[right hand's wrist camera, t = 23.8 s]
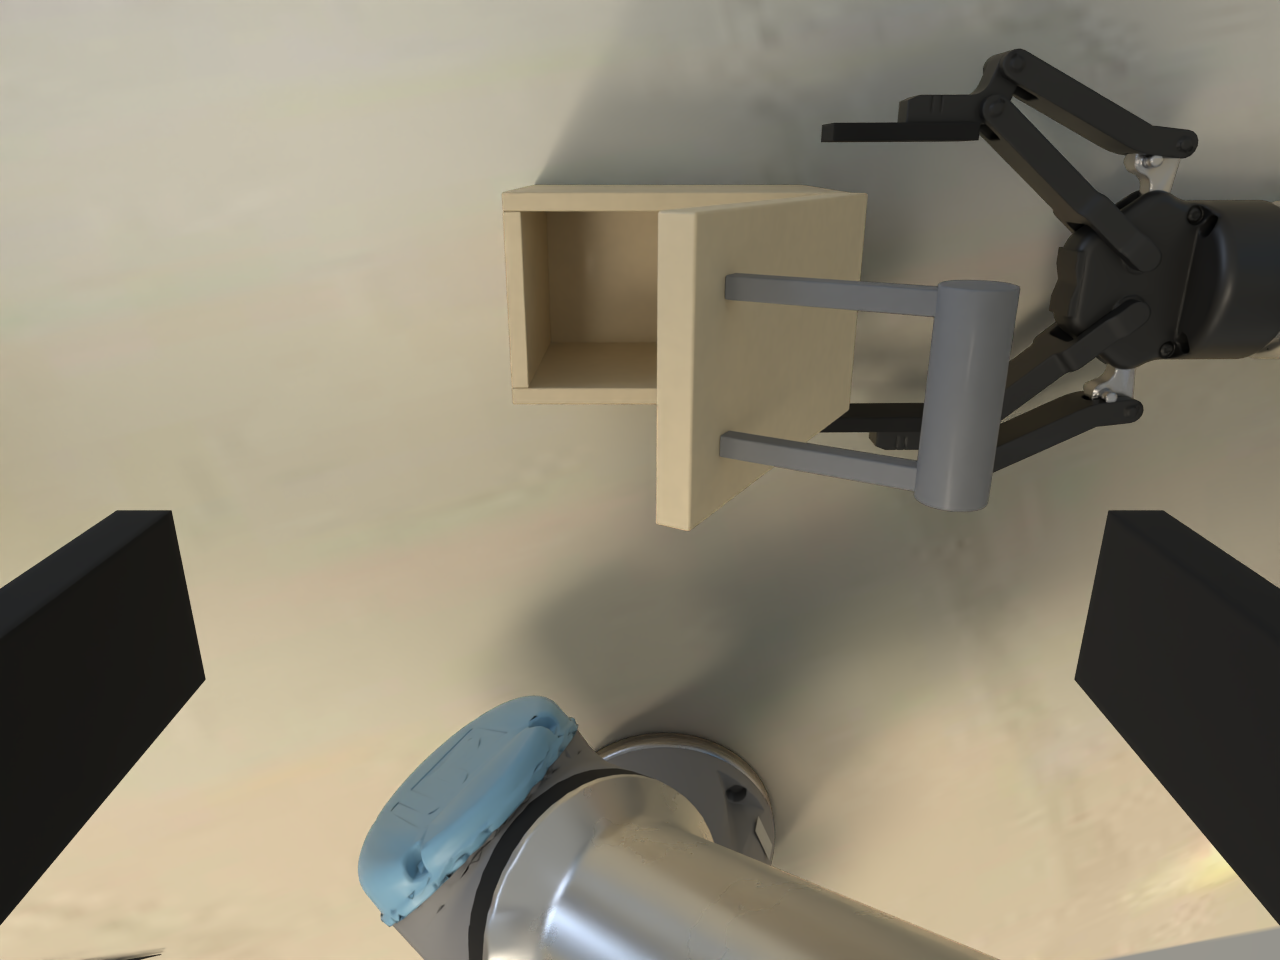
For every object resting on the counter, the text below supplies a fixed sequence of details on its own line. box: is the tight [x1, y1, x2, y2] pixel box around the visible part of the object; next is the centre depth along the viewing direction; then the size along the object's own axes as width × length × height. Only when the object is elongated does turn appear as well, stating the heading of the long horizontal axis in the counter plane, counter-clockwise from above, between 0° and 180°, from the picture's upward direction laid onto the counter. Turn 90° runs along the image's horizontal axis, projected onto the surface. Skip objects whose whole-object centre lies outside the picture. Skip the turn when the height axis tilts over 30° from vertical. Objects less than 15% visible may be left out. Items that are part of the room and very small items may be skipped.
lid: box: [656, 193, 1020, 531], centre depth 29 cm, size 16×9×9 cm
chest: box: [502, 185, 849, 404], centre depth 43 cm, size 14×9×11 cm, turn 90°
